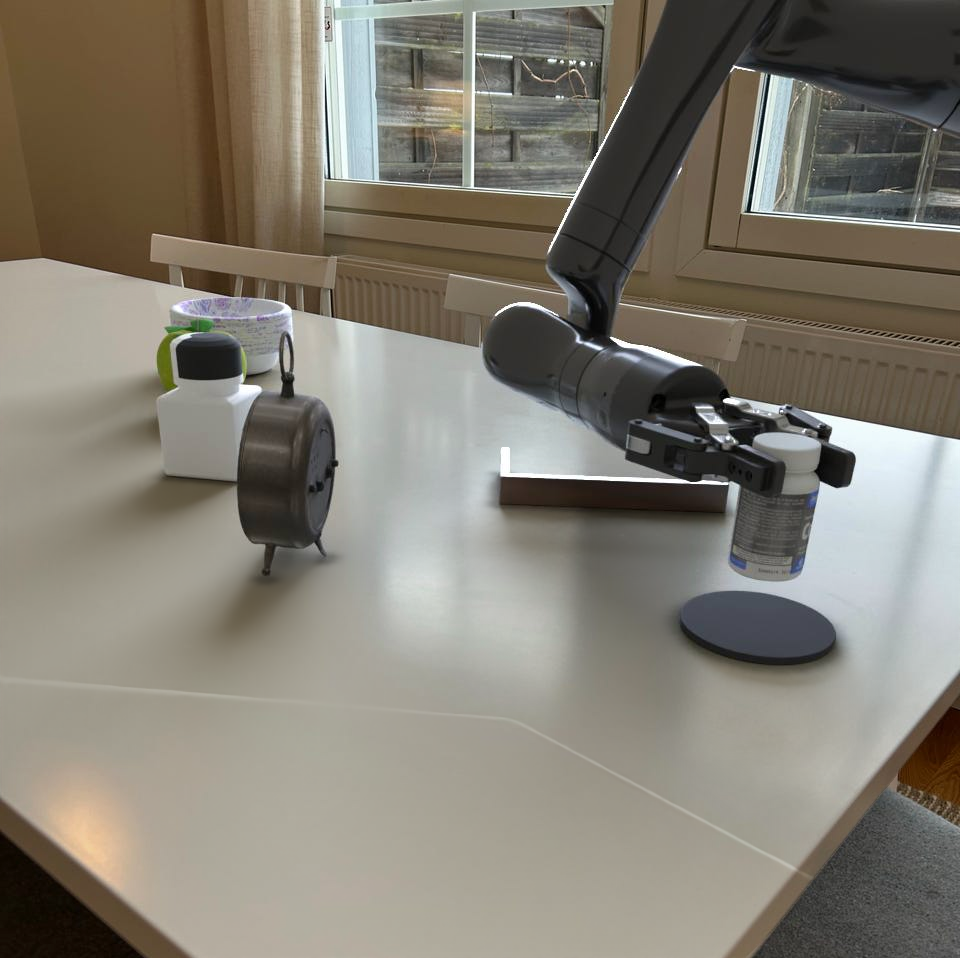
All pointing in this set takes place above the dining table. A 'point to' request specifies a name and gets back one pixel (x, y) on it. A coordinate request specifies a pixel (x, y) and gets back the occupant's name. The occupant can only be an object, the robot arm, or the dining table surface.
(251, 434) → the alarm clock
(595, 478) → the bracket
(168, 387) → the fruit
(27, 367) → the dining table surface
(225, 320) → the white round bowl
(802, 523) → the pill bottle
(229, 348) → the medicine bottle
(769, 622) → the coaster
